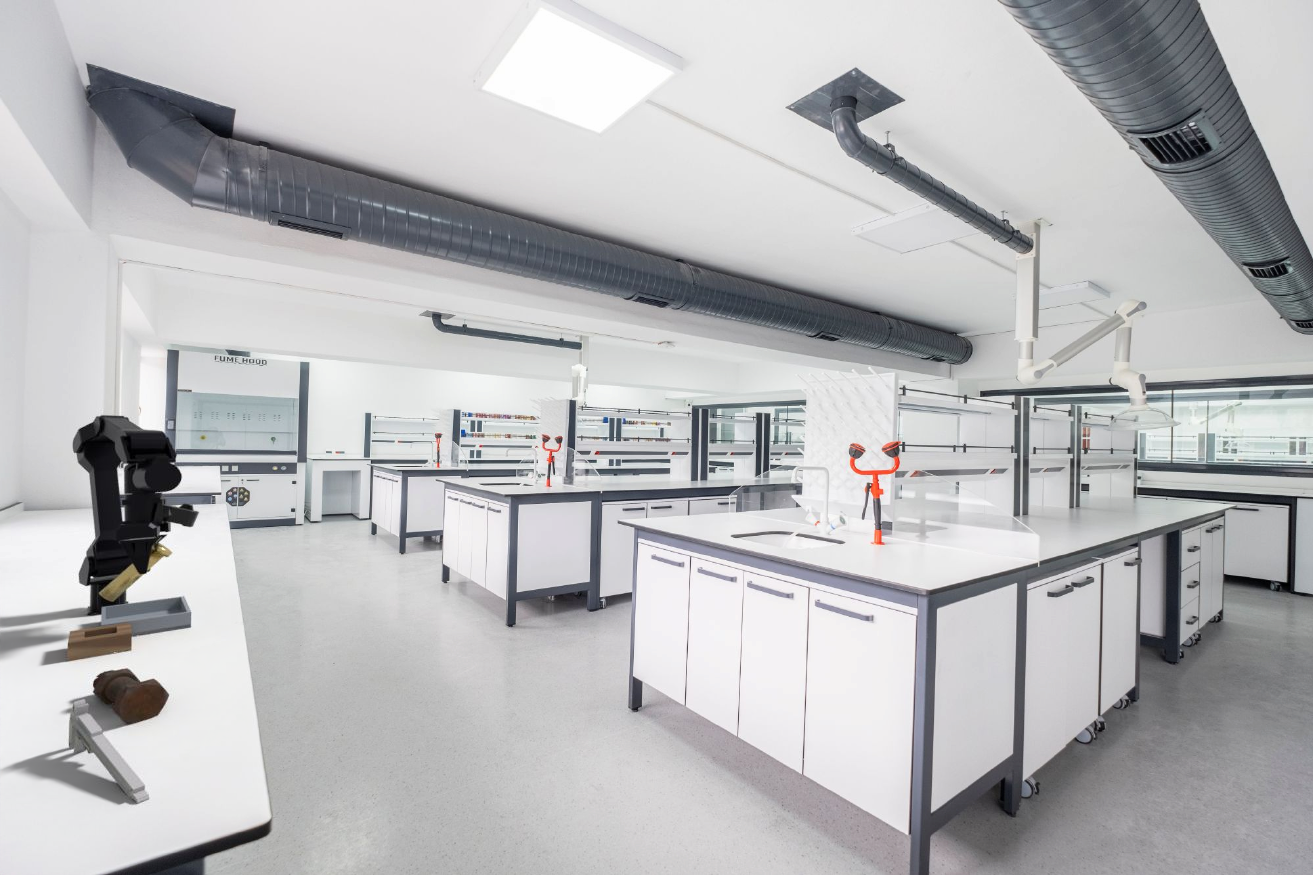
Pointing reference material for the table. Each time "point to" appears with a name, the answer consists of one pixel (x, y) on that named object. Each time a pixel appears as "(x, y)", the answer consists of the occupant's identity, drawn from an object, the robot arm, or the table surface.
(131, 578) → the pin
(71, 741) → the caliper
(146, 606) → the tray
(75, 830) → the table surface
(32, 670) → the table surface
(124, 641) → the block
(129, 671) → the bolt
